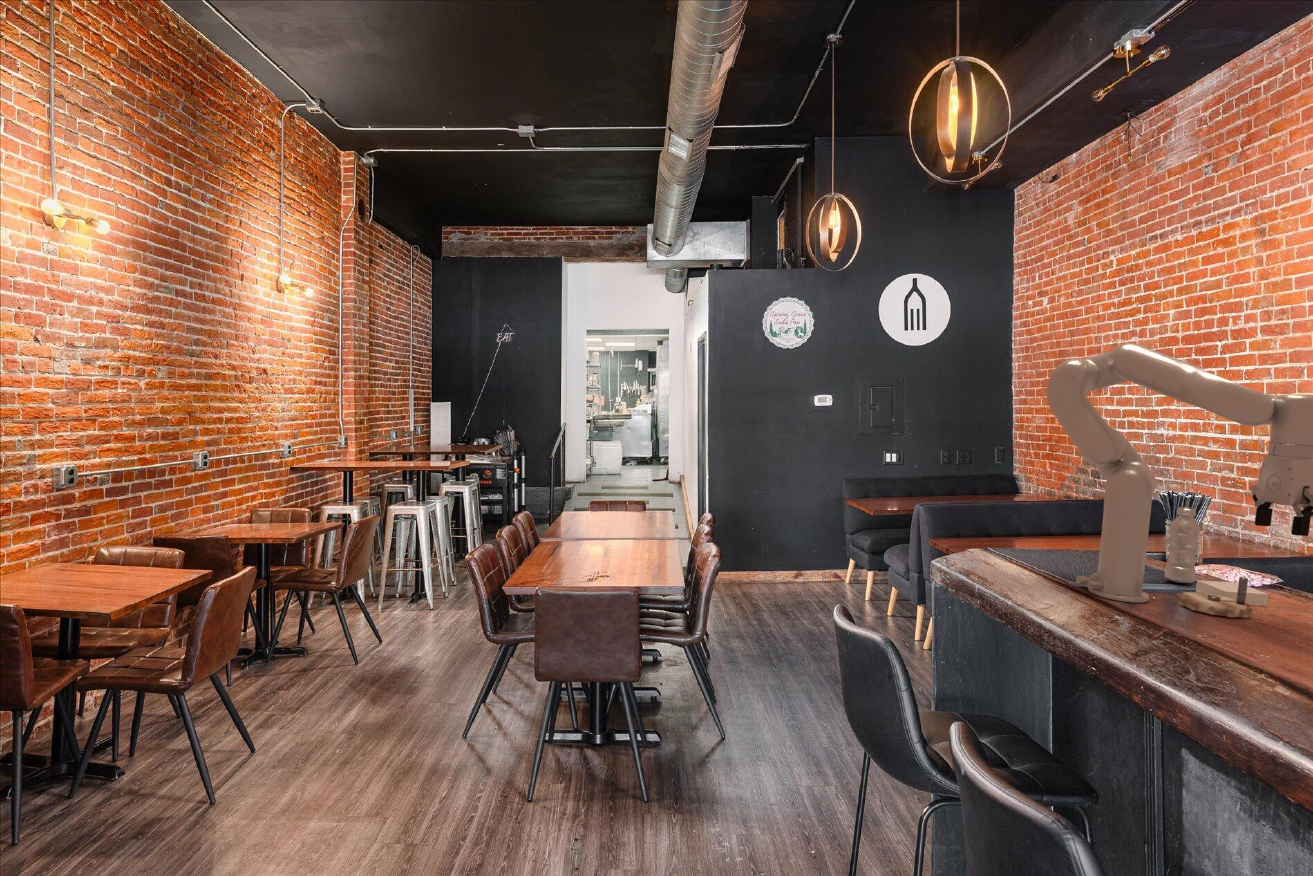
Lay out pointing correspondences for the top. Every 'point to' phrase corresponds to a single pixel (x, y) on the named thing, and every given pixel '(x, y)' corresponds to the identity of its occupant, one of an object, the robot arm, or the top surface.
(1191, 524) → the plastic bottle
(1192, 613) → the top surface
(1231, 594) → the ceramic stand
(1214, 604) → the base with upright peg
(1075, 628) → the top surface
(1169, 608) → the top surface
